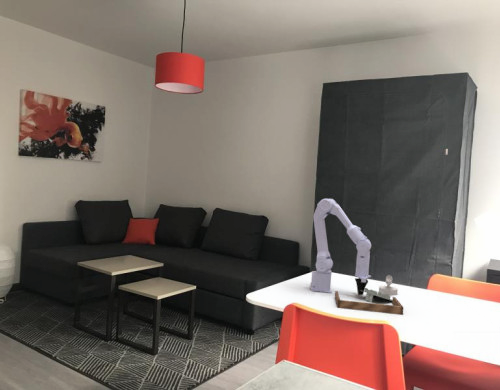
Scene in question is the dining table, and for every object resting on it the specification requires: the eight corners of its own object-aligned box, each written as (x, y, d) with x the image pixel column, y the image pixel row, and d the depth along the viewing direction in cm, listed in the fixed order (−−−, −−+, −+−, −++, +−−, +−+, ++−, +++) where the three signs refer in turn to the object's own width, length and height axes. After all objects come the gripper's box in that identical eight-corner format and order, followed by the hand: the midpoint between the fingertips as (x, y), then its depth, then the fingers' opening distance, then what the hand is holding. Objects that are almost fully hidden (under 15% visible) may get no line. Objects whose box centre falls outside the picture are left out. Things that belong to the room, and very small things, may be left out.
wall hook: (379, 274, 200) (380, 271, 210) (378, 294, 200) (379, 289, 210) (398, 276, 197) (398, 273, 207) (397, 296, 198) (397, 292, 207)
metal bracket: (383, 293, 179) (356, 284, 191) (380, 306, 178) (353, 297, 190) (402, 299, 187) (375, 291, 199) (399, 312, 186) (372, 303, 198)
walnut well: (337, 307, 172) (338, 300, 171) (334, 297, 187) (335, 291, 187) (402, 314, 168) (403, 307, 168) (394, 303, 184) (395, 297, 184)
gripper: (374, 269, 184) (371, 299, 185) (369, 263, 199) (366, 291, 199) (357, 267, 185) (355, 297, 186) (353, 262, 200) (351, 290, 200)
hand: (360, 294), depth 192 cm, fingers closed
